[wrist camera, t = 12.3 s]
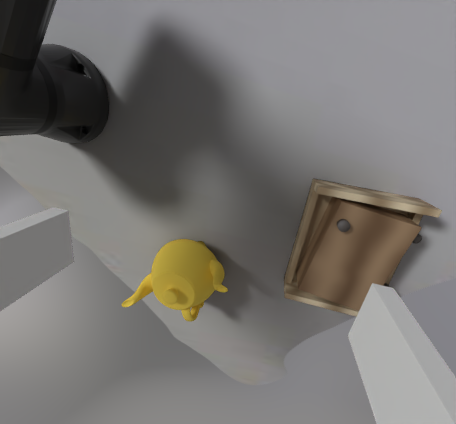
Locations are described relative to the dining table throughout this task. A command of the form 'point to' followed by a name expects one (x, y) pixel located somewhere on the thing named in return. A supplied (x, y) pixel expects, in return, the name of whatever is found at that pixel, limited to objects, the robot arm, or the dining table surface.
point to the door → (354, 251)
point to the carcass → (313, 215)
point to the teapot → (182, 277)
